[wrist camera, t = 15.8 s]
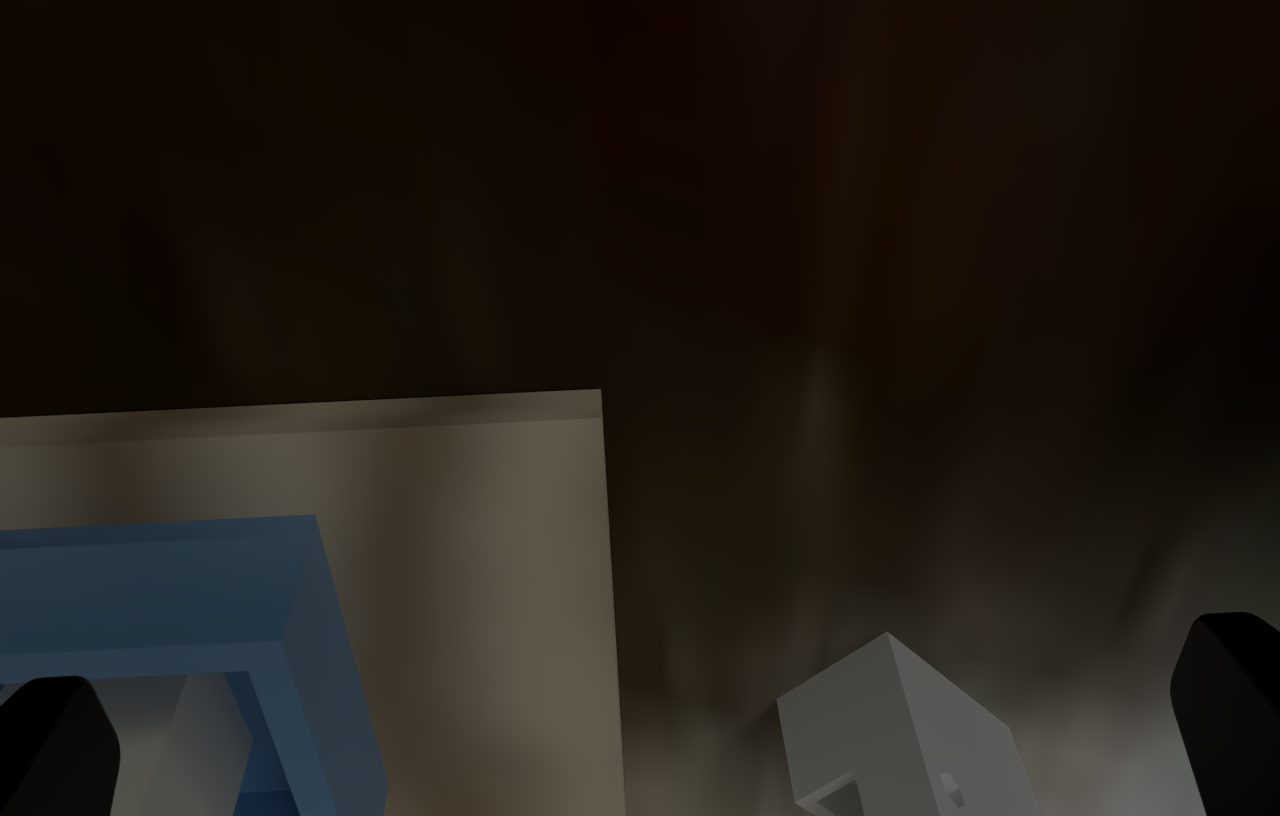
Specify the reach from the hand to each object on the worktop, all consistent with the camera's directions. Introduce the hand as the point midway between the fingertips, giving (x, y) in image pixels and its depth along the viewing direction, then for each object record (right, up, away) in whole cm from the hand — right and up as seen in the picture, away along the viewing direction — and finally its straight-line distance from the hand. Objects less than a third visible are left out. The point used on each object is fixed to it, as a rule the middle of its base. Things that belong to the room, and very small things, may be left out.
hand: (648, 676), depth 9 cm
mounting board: (-12, -4, +18) cm, 22 cm away
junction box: (-12, -4, +18) cm, 21 cm away
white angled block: (+7, -6, +22) cm, 23 cm away
